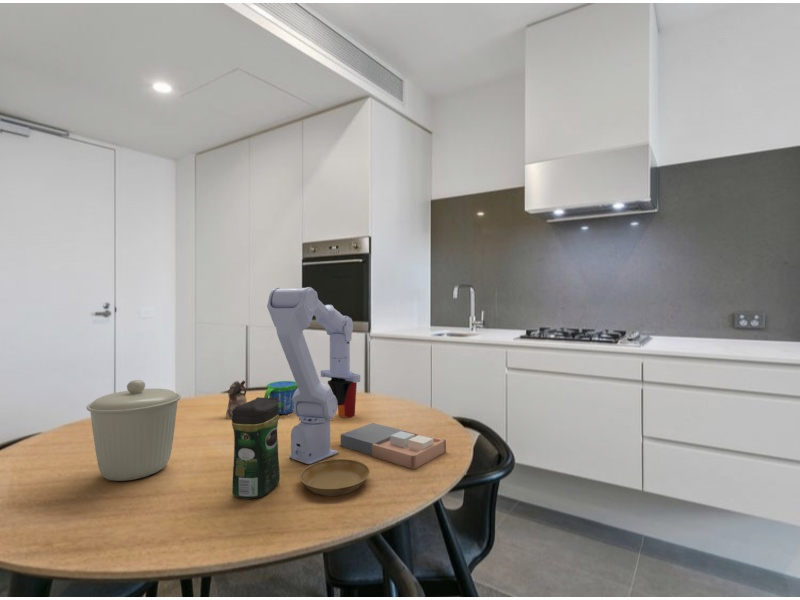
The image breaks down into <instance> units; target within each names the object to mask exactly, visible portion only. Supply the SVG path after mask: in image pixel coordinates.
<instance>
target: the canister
mask: <svg viewBox="0 0 800 600" xmlns="http://www.w3.org/2000/svg"><path fill="white" fill-rule="evenodd" d="M126 389H127V390H123V391H119V392H112V393H109V394H106V395H102V396H100V397H98V398H95V400H93V401H92V402H90V403H88V404H87V405H86V406H85V407H86V410H87V411H88V412H90V420H91V427H92V434H93V435H92V436H93V442H94V443H93V444H94V450H95V455H96V456H95V457H96V461H97V466H98V471H99V473H100V475H101V476H102V477H103V478H104V479H106V480H108V481H114V482H115V481H116V482H124V481H132V480H133V481H134V480H137V479H141V478H145V477H149V476H151V475H153V474H156V473H158V472H159V471H162V470H163V469H164V468H165V467H166V466H167V464H168V463H169V461H170V459H171V455H172V449H173V444H174V443H173V442H174V437H175V436H174V435H175V426H176V418H177V410H178V403H179V401H180V399H181V398H182V396H181V394H179V393H177V392H175V391H173V390H170V389H167V388H146V383H145V382H144V380H141V379H134V380H131V381H129V382H128V383H127V384H126Z"/></svg>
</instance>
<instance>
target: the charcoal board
mask: <svg viewBox="0 0 800 600" xmlns="http://www.w3.org/2000/svg"><path fill="white" fill-rule="evenodd" d="M400 431H403V432H404V431H405V430H403V429H399V428H396V427H391V426H387V425H383V424H380V423H379V424H378V423H374V422H371V423H369V424H366V425H363V426H360V427H358V428H355V429H354V428H353V429H352V430H349V431H346V432H343V433H341V434H340V447H344V448H348V449H351V450H354V451H357V452H361V453H363V454H367V455H370V456H372V444H378V445H379V444H382V443H384V442H386V441H389V440H390V435H393V434H395V433H397V432H400Z"/></svg>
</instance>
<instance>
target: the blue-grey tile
mask: <svg viewBox="0 0 800 600" xmlns="http://www.w3.org/2000/svg"><path fill="white" fill-rule="evenodd" d="M413 437H415V434H411V433H407V432H403V431H400V432H397V433H395V434H393V435H390V444H392V445H395V446H399V447H403V448H405V447H407V446H408V440H409V439H411V438H413Z"/></svg>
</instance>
